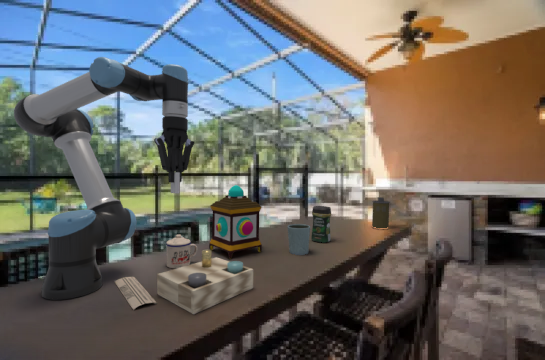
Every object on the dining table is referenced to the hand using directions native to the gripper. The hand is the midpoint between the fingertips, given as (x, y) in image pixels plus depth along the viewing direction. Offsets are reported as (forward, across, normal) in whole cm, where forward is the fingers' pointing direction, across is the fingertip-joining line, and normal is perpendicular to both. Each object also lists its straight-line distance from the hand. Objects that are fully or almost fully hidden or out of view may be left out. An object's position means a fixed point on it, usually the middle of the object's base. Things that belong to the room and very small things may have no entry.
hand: (175, 192), depth 91 cm
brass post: (+23, +7, -7) cm, 25 cm away
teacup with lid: (+30, +13, +16) cm, 36 cm away
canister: (+30, +139, -16) cm, 143 cm away
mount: (+29, +4, -11) cm, 32 cm away
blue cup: (+30, +57, -8) cm, 65 cm away
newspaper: (+30, -12, +4) cm, 33 cm away
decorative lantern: (+30, +39, +14) cm, 51 cm away
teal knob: (+28, +11, -16) cm, 34 cm away
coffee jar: (+30, +82, -5) cm, 87 cm away
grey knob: (+28, -3, -16) cm, 32 cm away
